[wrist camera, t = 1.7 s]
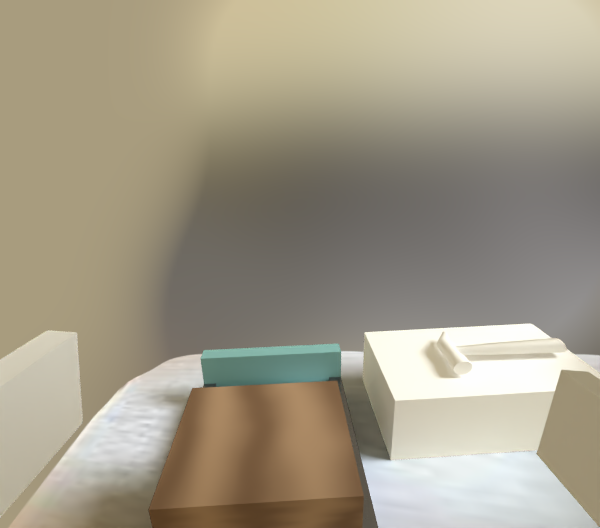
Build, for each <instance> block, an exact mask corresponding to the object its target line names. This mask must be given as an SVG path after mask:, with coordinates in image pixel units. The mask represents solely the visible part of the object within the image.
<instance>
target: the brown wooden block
mask: <svg viewBox="0 0 600 528" xmlns="http://www.w3.org/2000/svg"><path fill="white" fill-rule="evenodd" d="M363 504H364V494H363V490H362V486H361V481H360V477H359V473H358V468H357V464H356V460H355V455H354V451H353V447H352V442H351V438H350V434H349V429H348V425H347V421H346V416H345V412H344V408H343V403H342V399H341V395H340V390H339V386H338V382H337V381H320V382H301V383H283V384H264V385H245V386H226V387H207V388H192V391H191V394H190V396H189V399H188V402H187V405H186V407H185V410H184V413H183V416H182V419H181V421H180V424H179V427H178V430H177V432H176V435H175V438H174V441H173V443H172V446H171V449H170V452H169V455H168V457H167V460H166V463H165V466H164V468H163V471H162V474H161V477H160V479H159V482H158V485H157V488H156V491H155V493H154V496H153V499H152V502H151V504H150V507H149V514H150V519H151V523H152V527H153V528H362V526H363Z"/></svg>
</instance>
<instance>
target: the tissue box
mask: <svg viewBox="0 0 600 528" xmlns="http://www.w3.org/2000/svg"><path fill="white" fill-rule="evenodd" d="M561 370H573V371H586V372H590V373H591V374H593V375H594V376H596V377H597V378H599V379H600V373H599V372H598V371H596V370H595V369H594V368H592V367H591V366H590V365H588V364H587V363H585V362H584V361H583V360H581V359H580V358H578V357H577V356H576V355H574V354H573V353H571V352H570V351H569V350H567V349H566V346H565V344H564V343H563V342H562V341H561V340H559V339H558V338H551V337H549V336H548V335H547V334H545V333H544V332H543V331H541V330H540V329H538V328H537V327H535V326H534V325H533V324H515V325H496V326H479V327H478V326H477V327H458V328H438V329H419V330H400V331H381V332H365V334H364V361H363V383H364V386H365V388H366V391H367V394H368V397H369V400H370V403H371V406H372V408H373V411H374V414H375V417H376V420H377V423H378V426H379V428H380V431H381V434H382V437H383V440H384V443H385V446H386V448H387V451H388V454H389V457H390V460H404V459H418V458H433V457H448V456H462V455H477V454H491V453H506V452H520V451H535V450H538V447H539V444H540V441H541V437H542V434H543V430H544V427H545V423H546V420H547V417H548V413H549V410H550V406H551V403H552V399H553V396H554V393H555V389H556V386H557V382H558V379H559V376H560V372H561Z"/></svg>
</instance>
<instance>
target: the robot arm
mask: <svg viewBox="0 0 600 528" xmlns="http://www.w3.org/2000/svg"><path fill="white" fill-rule="evenodd" d="M82 423H83V418H82V403H81V388H80V373H79V358H78V343H77V333H76V332H62V331H48V330H47V331H46V332H44V333H42V334H41V335H39V336H37V337H36V338H34V339H33V340H31V341H29V342H28V343H26V344H25V345H23V346H21V347H20V348H18V349H16V350H15V351H13V352H12V353H10V354H8V355H7V356H5V357H4V358H2V359H0V517H1V516H2V515H3V514H4V513H5V512H6V511H7V509H8V508H9V507H10V506H11V505H12V504H13V502H14V501H15V500H16V499H17V498H18V497H19V495H20V494H21V493H22V492H23V491H24V490H25V488H26V487H27V486H28V485H29V484H30V483H31V482H32V480H33V479H34V478H35V477H36V476H37V475H38V474H39V472H40V471H41V470H42V469H43V468H44V467H45V465H46V464H47V463H48V462H49V461H50V460H51V459H52V457H53V456H54V455H55V454H56V453H57V452H58V451H59V449H60V448H61V447H62V446H63V445H64V444H65V442H66V441H67V440H68V439H69V438H70V436H72V434H73V433H74V432H75V431H76V430H77V429H78V427H79V426H80V425H81V424H82ZM537 455H538V456H539V457H540V458H541V460H542V461H543V462H544V463H545V464H546V465H547V467H548V468H549V469H550V470H551V471H552V472H553V474H554V475H555V476H556V477H557V478H558V479H559V481H560V482H561V483H562V484H563V485H564V486H565V487H566V489H567V490H568V491H569V492H570V493H571V494H572V496H573V497H574V498H575V499H576V500H577V501H578V503H579V504H580V505H581V506H582V507H583V508H584V510H585V511H586V512H587V513H588V514H589V515H590V517H591V518H592V519H593V520H594V521H595V522H596V523H597V525H598V526H599V527H600V379H599V378H597V377H596V376H594V375H593V374H591V373H590V372H586V371H573V370H561V372H560V376H559V379H558V382H557V386H556V389H555V393H554V396H553V399H552V403H551V406H550V410H549V413H548V417H547V420H546V423H545V427H544V430H543V434H542V437H541V441H540V444H539V447H538V451H537Z"/></svg>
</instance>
